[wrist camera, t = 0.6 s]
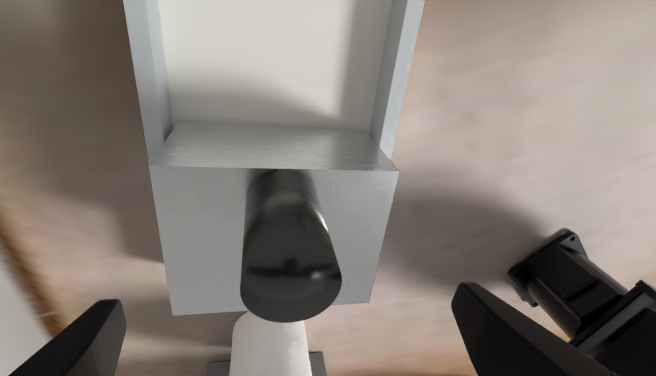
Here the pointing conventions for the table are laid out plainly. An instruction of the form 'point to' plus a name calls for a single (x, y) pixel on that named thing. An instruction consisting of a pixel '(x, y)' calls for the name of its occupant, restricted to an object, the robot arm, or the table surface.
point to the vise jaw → (270, 217)
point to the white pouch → (268, 348)
